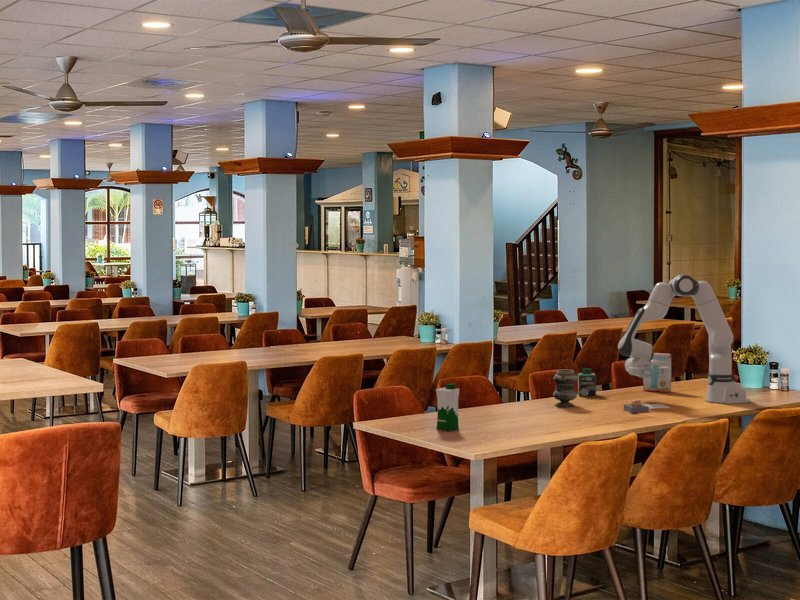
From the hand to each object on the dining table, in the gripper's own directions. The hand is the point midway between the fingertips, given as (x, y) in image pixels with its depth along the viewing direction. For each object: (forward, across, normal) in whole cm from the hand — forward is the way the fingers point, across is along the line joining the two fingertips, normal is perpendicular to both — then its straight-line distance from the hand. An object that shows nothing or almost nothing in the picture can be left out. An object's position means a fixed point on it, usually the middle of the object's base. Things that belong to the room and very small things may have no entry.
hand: (655, 372), depth 502 cm
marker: (-1, 0, +8) cm, 8 cm away
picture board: (-1, -2, +17) cm, 18 cm away
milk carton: (+34, -114, +19) cm, 120 cm away
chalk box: (-44, -18, +18) cm, 51 cm away
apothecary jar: (-14, -41, +18) cm, 47 cm away
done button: (+9, -14, +16) cm, 23 cm away
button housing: (+9, -14, +18) cm, 24 cm away
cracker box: (-50, +25, +18) cm, 59 cm away
